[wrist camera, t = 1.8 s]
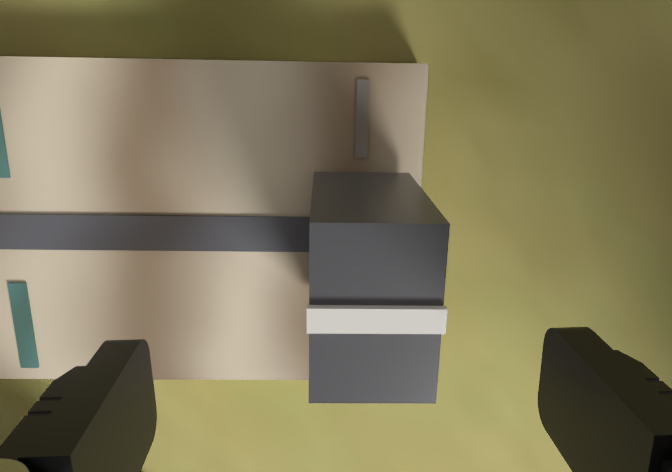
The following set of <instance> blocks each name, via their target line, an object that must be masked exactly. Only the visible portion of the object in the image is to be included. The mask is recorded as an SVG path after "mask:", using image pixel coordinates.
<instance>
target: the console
mask: <svg viewBox="0 0 672 472" xmlns="http://www.w3.org/2000/svg"><path fill="white" fill-rule="evenodd" d="M428 67H429V64H421V63H363V62H306V61H248V60H191V59H134V58H76V57H19V56H0V379H57V378H59V377H60V376H62V375H63V374H65V373H66V372H68V371H69V370H71V369H72V368H74V367H76V366H86V365H87V364H88V362H89V361H90V360H91V358H92V357H93V356H94V354H95V353H96V352H97V350H98V349H99V347H100V346H101V345H102V343H103V342H104V341H106V340H134V339H145V340H146V341H147V343H148V346H149V350H150V358H151V367H152V375H153V379H202V380H309V334H307V305H309V221H310V210H311V198H312V187H313V175H314V172H390V173H410V175H411V176H412V177H413V178H414V180H415V181H416V182H417V183H418V185H419V186H420V187H421V181H422V165H423V149H424V132H425V116H426V100H427V83H428Z"/></svg>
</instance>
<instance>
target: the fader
mask: <svg viewBox="0 0 672 472" xmlns="http://www.w3.org/2000/svg"><path fill="white" fill-rule="evenodd" d="M449 227H450V224H449V222H448V221H447V220H446V219H445V217H444V216H443V215H442V214H441V212H440V211H439V210H438V209H437V207H436V206H435V205H434V204H433V202H432V201H431V200H430V199H429V197H428V196H427V195H426V193H425V192H424V191H423V190H422V188H421V187H420V186H419V185H418V183H417V182H416V181H415V180H414V178H413V177H412V176H411V175H410V173H390V172H314V175H313V187H312V198H311V210H310V221H309V305H307V334H309V403H436V395H437V382H438V369H439V356H440V343H441V334H446V322H447V308H446V306H443V304H444V292H445V279H446V266H447V253H448V240H449Z"/></svg>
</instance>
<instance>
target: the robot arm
mask: <svg viewBox="0 0 672 472" xmlns="http://www.w3.org/2000/svg"><path fill="white" fill-rule="evenodd" d="M538 408H539V414H540V418H541V421H542V424H543V426H544V428H545V430H546V431H547V433H548V435H549V436H550V438H551V439H552V441H553V442H554V444H555V445H556V447H557V448H558V450H559V452H560V453H561V455H562V456H563V458H564V459H565V461H566V462H567V464H568V465H569V467H570V468H571V470H572V472H672V389H671V388H670V387H668V386H667V385H666V384H665V383H664V382H663V381H659V378H658V377H657V376H656V375H655V374H654V373H653V372H652V371H651V370H649V369H648V368H647V367H646V366H645V365H644V364H643V363H641V362H639V361H637V360H635V359H633V358H632V357H630V356H628V355H626V354H624V353H622V352H620V351H618V350H613V349H612V348H611V347H610V346H609V345H608V344H606V343H605V342H604V341H603V340H602V339H601V338H600V337H599V336H598V335H597V334H596V333H595V332H594V331H593V330H591V329H590V328H588V327H568V328H550V329H548V330H547V332H546V334H545V337H544V344H543V353H542V363H541V372H540V381H539V391H538ZM156 420H157V411H156V401H155V392H154V384H153V375H152V367H151V358H150V350H149V346H148V343H147V341H146V340H145V339H134V340H106V341H104V342H103V343H102V345H101V346H100V347H99V349H98V350H97V352H96V353H95V354H94V356H93V357H92V358H91V360H90V361H89V362H88V364H87V365H86V366H76V367H74V368H72V369H71V370H69V371H68V372H66V373H65V374H63V375H62V376H60V377H59V378H57V379H56V380H54V381H53V382H52V383H51V384H50V386H49V387H48V388H47V389H46V391H45V392H44V393H43V394H42V396H41V397H40V401H37V402H36V403H35V404H34V405H33V407H32V408H31V409H30V410H29V412H28V416H24V418H23V419H22V420H21V421H20V423H19V424H18V425H17V426H16V428H15V429H14V430H13V431H12V432H11V434H10V435H9V436H8V437H7V439H6V440H5V441H4V442H3V444H2V445H1V446H0V472H140V471H141V469H142V466H143V464H144V462H145V459H146V457H147V454H148V452H149V450H150V447H151V445H152V442H153V439H154V435H155V430H156Z"/></svg>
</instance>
